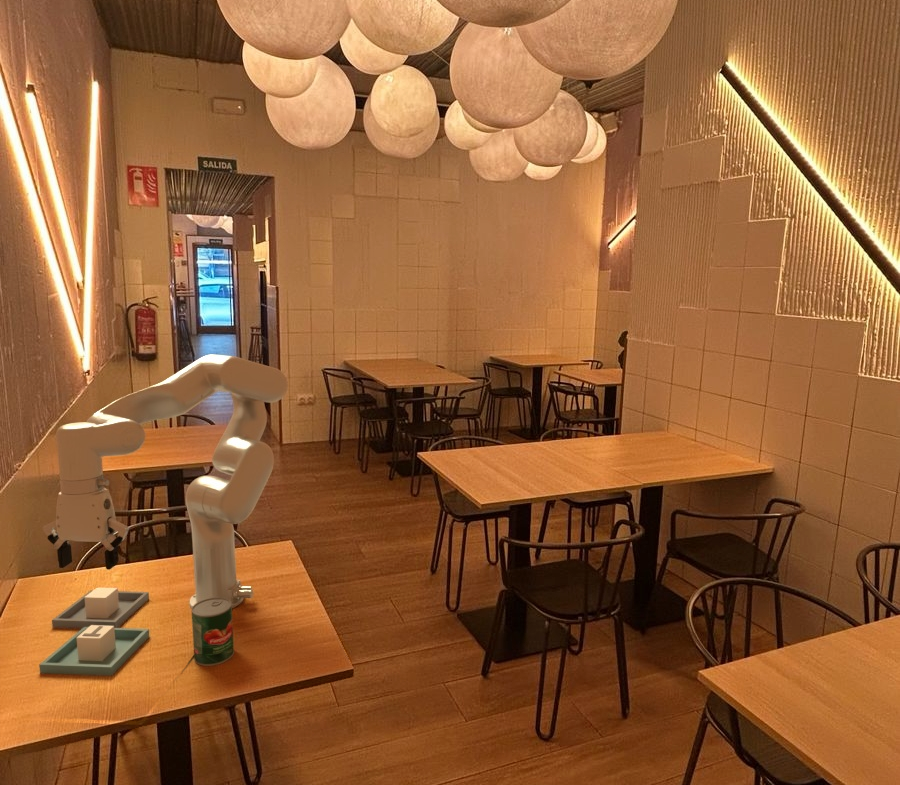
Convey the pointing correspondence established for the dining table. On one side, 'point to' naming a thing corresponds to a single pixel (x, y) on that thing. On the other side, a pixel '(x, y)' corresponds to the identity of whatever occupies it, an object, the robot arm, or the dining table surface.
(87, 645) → the letter cube
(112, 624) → the charcoal tray
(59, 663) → the teal tray
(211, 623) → the canned tomato
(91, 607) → the blank cube
